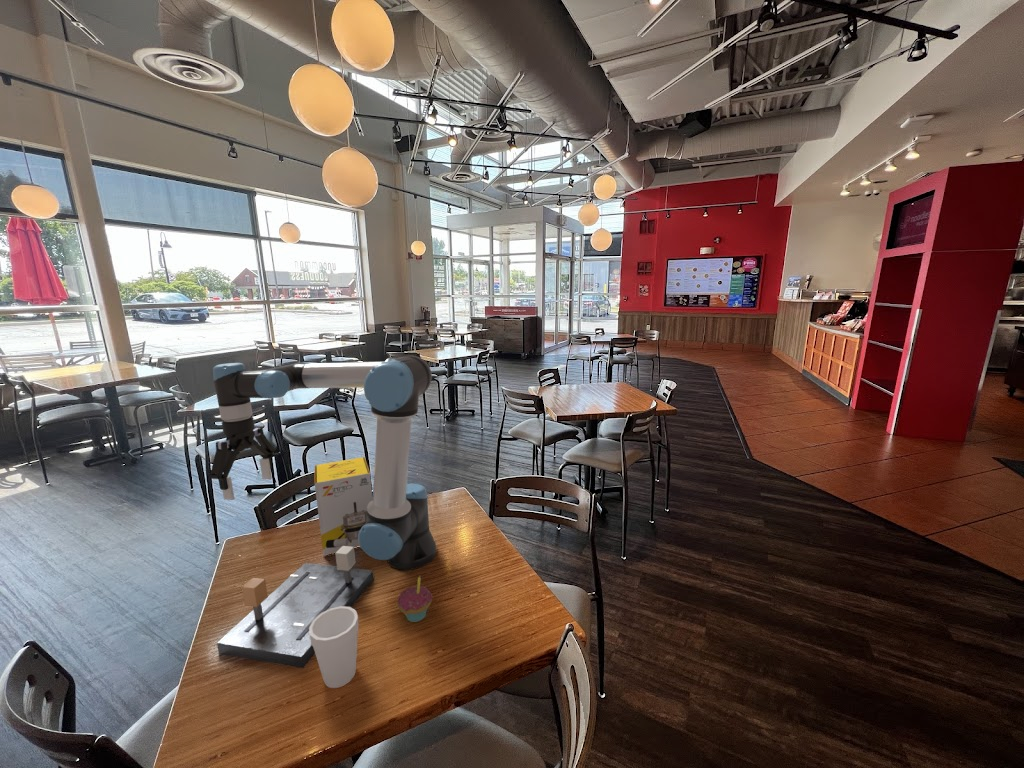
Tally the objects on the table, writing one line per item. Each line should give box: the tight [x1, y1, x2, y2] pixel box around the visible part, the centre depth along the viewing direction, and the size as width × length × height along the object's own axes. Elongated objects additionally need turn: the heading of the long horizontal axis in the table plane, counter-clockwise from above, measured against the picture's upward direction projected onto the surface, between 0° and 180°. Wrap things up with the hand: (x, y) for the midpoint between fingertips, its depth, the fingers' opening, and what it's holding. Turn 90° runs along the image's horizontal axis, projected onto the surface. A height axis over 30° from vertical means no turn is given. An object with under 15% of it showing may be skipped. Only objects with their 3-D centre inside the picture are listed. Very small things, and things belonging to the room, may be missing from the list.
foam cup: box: [309, 606, 360, 689], centre depth 88 cm, size 10×9×13 cm
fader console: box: [216, 562, 375, 669], centre depth 107 cm, size 22×30×3 cm
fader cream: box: [334, 546, 356, 583], centre depth 113 cm, size 3×3×10 cm
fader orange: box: [241, 577, 269, 620], centre depth 100 cm, size 3×3×10 cm
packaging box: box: [314, 456, 373, 555], centre depth 139 cm, size 16×16×25 cm
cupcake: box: [396, 575, 433, 623], centre depth 104 cm, size 9×8×12 cm
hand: (249, 488), depth 120 cm, fingers open, 13 cm apart
